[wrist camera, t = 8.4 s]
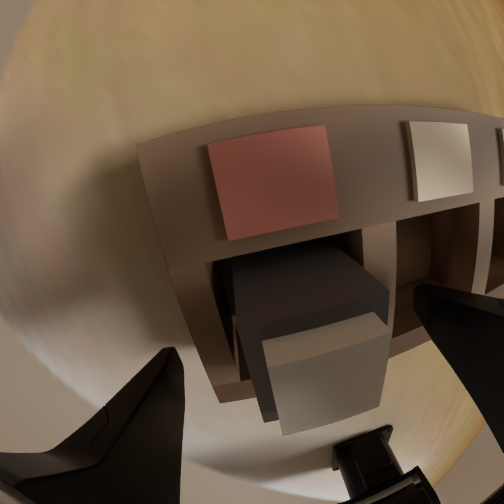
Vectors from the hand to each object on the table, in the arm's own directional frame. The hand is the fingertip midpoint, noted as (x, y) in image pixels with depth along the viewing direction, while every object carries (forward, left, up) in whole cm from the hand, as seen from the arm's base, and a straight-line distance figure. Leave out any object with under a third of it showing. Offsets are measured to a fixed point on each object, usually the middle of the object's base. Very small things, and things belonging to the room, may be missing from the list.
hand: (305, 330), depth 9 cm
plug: (0, 0, -5) cm, 5 cm away
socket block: (+2, -7, -6) cm, 9 cm away
